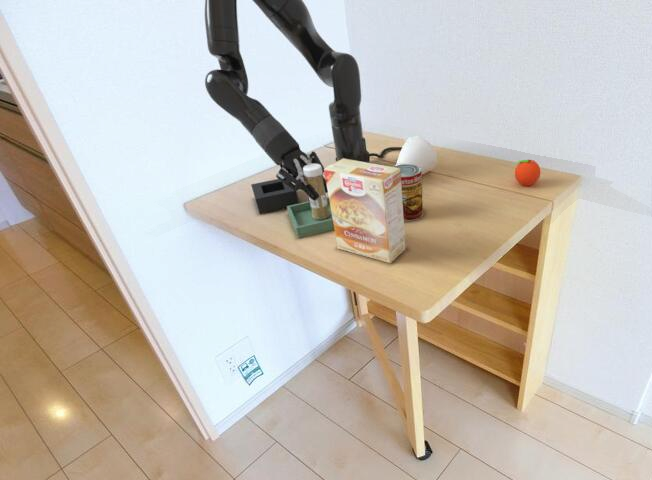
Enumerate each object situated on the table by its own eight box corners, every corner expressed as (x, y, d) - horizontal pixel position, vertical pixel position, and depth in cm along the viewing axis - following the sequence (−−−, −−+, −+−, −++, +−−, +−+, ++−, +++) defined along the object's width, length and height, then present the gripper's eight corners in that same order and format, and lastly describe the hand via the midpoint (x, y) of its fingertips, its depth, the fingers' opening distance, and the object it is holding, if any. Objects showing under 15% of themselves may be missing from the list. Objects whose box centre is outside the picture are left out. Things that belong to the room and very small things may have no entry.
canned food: (401, 224, 110) (398, 178, 103) (387, 212, 116) (383, 168, 108) (428, 216, 113) (427, 171, 105) (413, 204, 118) (411, 161, 111)
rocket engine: (384, 163, 117) (417, 128, 126) (365, 181, 127) (397, 148, 136) (413, 195, 120) (444, 159, 129) (392, 210, 130) (422, 176, 139)
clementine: (508, 188, 123) (510, 163, 118) (511, 178, 128) (513, 154, 123) (537, 190, 120) (541, 165, 116) (539, 180, 125) (543, 156, 121)
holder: (292, 191, 131) (289, 176, 128) (299, 205, 123) (296, 190, 120) (255, 198, 128) (251, 184, 125) (259, 214, 120) (255, 199, 117)
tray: (344, 203, 122) (342, 193, 120) (358, 223, 112) (357, 213, 110) (288, 215, 118) (286, 206, 116) (298, 238, 108) (295, 228, 106)
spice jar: (332, 216, 114) (324, 166, 106) (316, 222, 112) (307, 171, 104) (325, 210, 117) (316, 161, 109) (309, 215, 115) (299, 165, 107)
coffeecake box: (336, 249, 103) (322, 168, 91) (354, 235, 107) (342, 157, 95) (390, 264, 96) (382, 180, 84) (406, 249, 101) (401, 166, 89)
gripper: (260, 140, 100) (312, 198, 102) (300, 122, 109) (346, 175, 112) (249, 160, 105) (299, 214, 108) (288, 141, 115) (332, 191, 117)
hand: (323, 194), depth 110 cm, fingers closed on spice jar, 4 cm apart
